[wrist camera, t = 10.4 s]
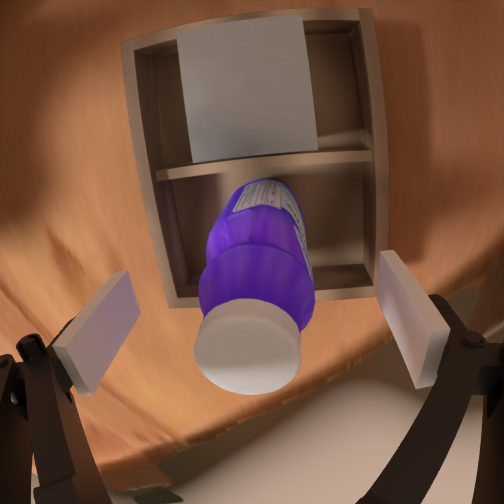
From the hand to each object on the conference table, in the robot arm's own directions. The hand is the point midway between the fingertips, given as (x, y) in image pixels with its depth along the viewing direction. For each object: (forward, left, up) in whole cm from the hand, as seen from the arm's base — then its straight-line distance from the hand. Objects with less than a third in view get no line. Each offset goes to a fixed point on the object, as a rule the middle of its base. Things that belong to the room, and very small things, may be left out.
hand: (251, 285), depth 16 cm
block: (0, +10, -12) cm, 16 cm away
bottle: (0, 0, -12) cm, 12 cm away
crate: (0, +5, -13) cm, 14 cm away
